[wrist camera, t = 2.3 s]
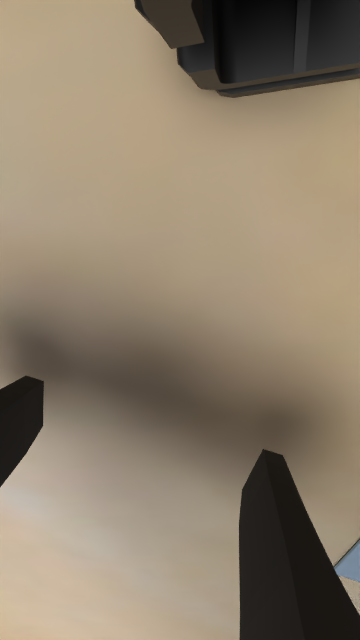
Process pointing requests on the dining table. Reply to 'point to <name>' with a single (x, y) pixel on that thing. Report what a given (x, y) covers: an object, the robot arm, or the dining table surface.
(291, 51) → the end cap
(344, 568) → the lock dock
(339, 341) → the dining table surface
